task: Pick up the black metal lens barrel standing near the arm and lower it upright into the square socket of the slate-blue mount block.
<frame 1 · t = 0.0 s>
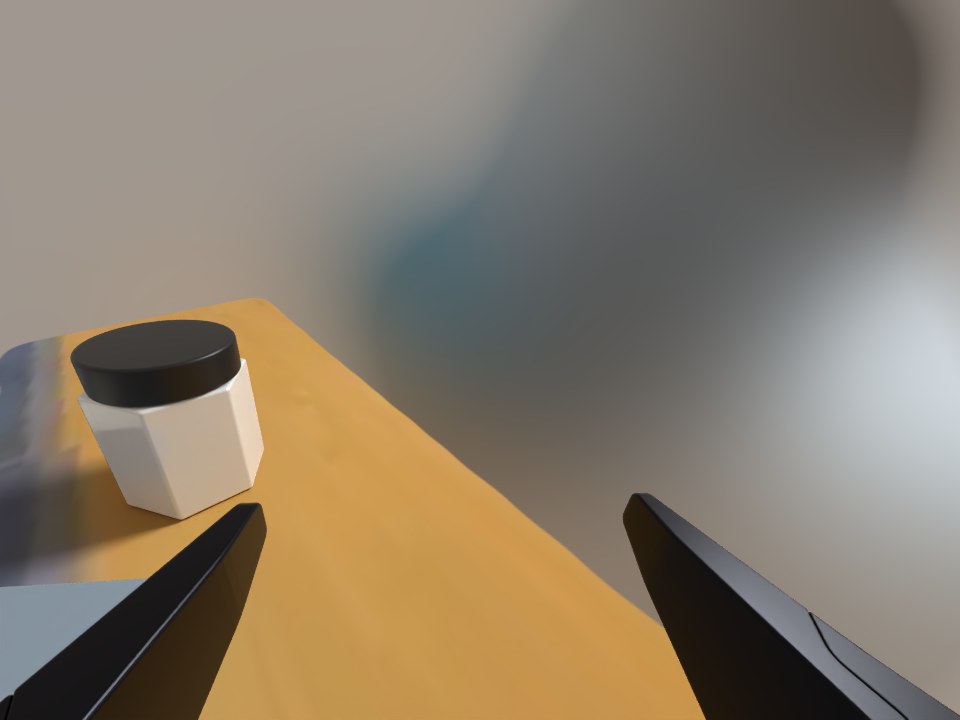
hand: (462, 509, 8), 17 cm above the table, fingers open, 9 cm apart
jar: (204, 476, 28), on the table
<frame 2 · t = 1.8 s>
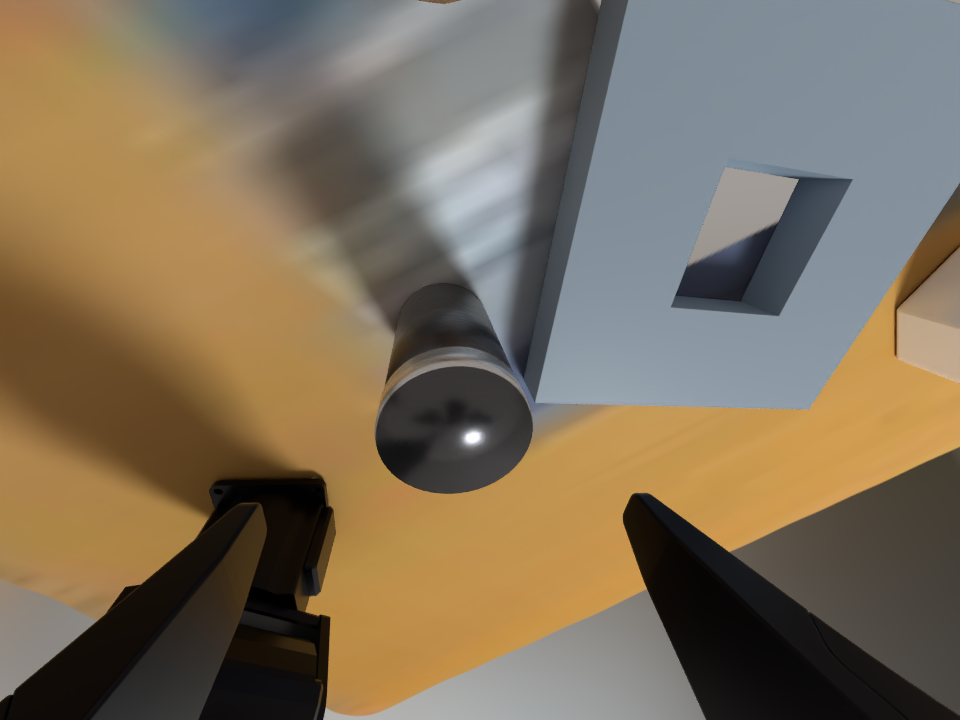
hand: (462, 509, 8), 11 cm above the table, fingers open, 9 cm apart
lens: (443, 327, 18), on the table
jar: (950, 300, 23), on the table
mount block: (717, 238, 18), on the table
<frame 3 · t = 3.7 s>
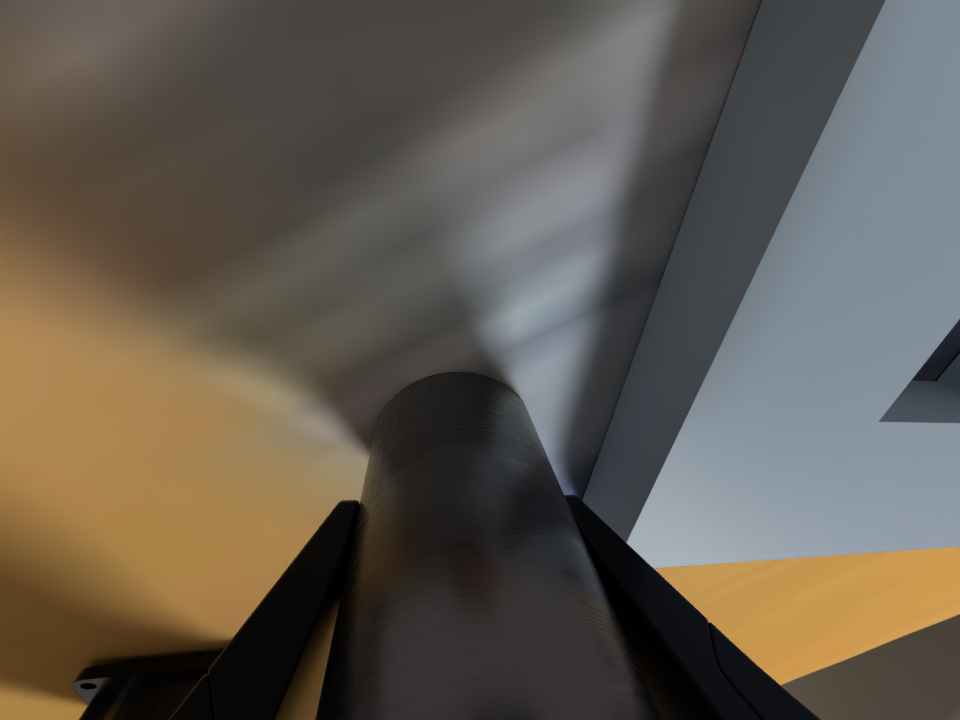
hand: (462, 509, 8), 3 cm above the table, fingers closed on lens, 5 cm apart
lens: (455, 439, 11), on the table, touching gripper
mount block: (932, 287, 10), on the table
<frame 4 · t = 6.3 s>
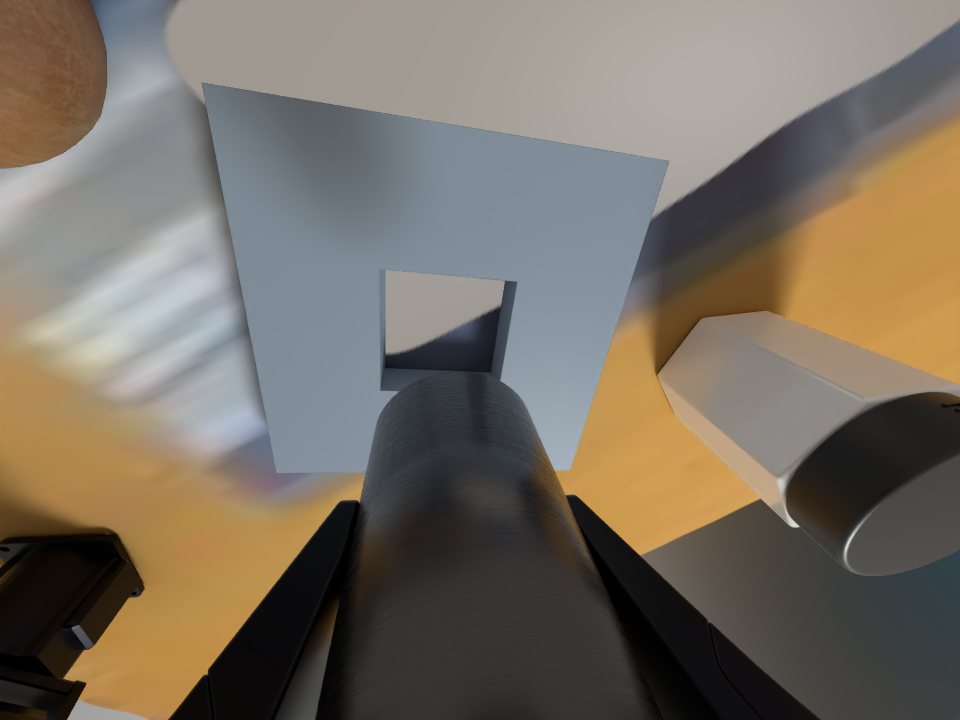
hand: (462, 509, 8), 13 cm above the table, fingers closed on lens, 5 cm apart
onion: (21, 30, 12), on the table
lens: (455, 439, 11), point 10 cm above the table, touching gripper
jar: (714, 364, 24), on the table
mount block: (443, 321, 20), on the table
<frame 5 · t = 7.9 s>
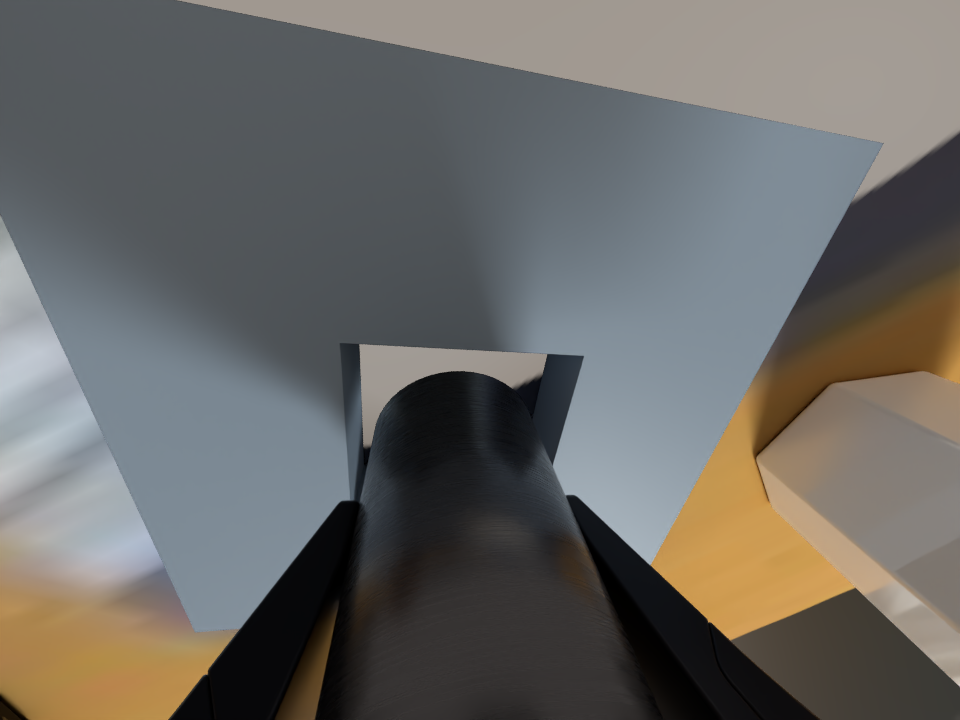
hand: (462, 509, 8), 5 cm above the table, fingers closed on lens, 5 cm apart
lens: (455, 439, 11), point 2 cm above the table, touching gripper
jar: (832, 440, 17), on the table
mount block: (452, 398, 13), on the table
when the fingers open (4 cm above the table, at t = 9.0 s): lens drops 1 cm, resting in mount block.
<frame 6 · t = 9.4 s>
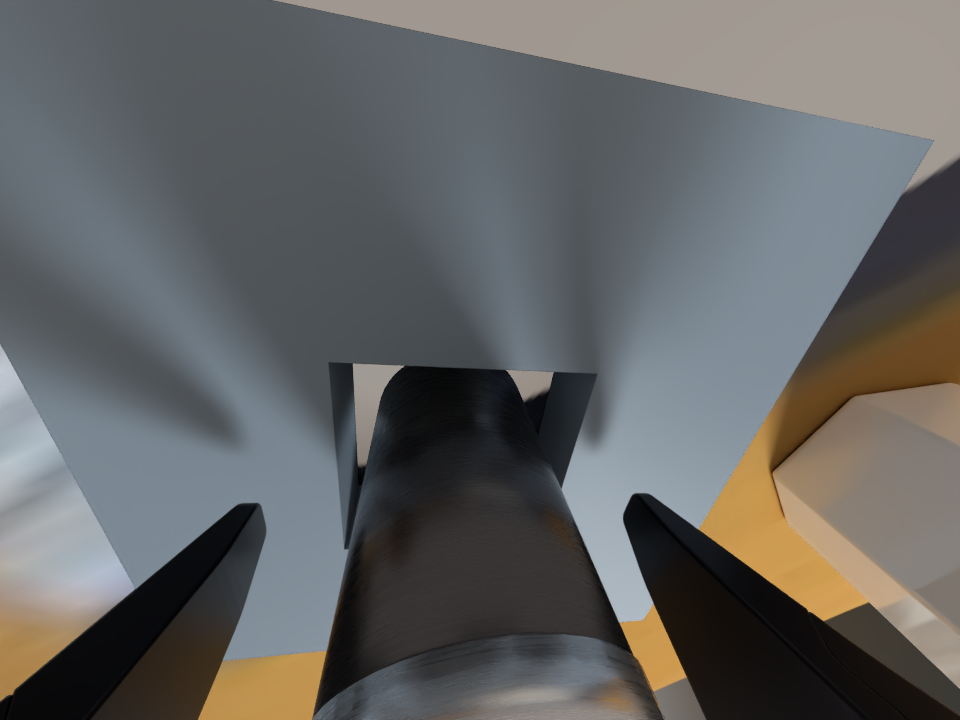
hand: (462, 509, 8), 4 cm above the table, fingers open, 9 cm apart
lens: (451, 413, 12), resting in mount block
jar: (852, 454, 16), on the table
mount block: (453, 415, 12), on the table
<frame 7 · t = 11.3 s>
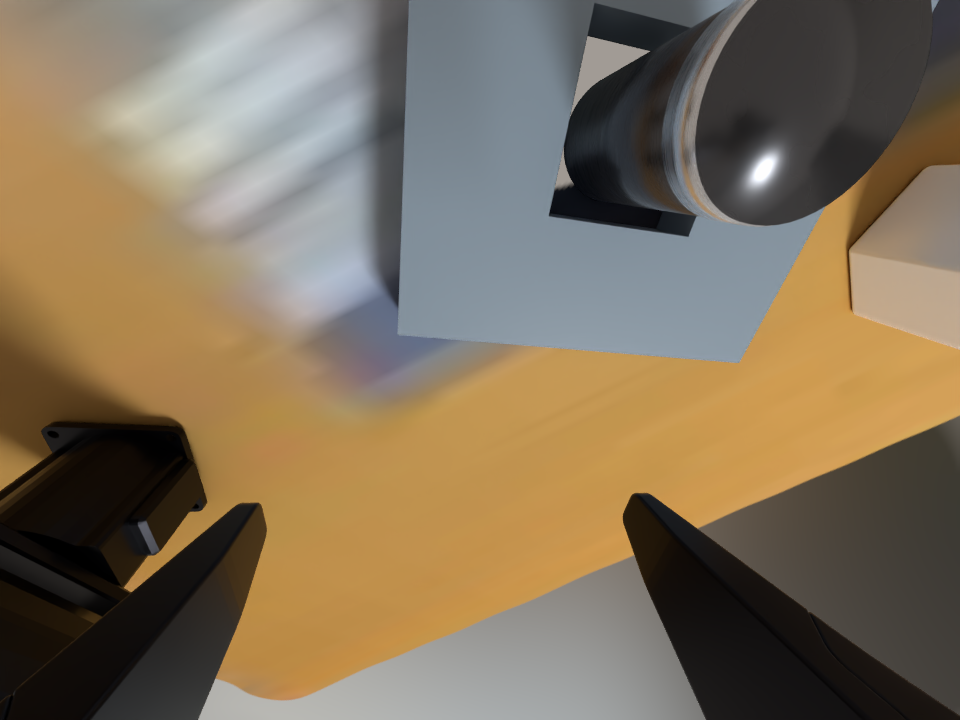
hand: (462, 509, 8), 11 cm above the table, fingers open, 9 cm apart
lens: (616, 141, 15), resting in mount block
jar: (914, 243, 19), on the table
mount block: (618, 143, 15), on the table
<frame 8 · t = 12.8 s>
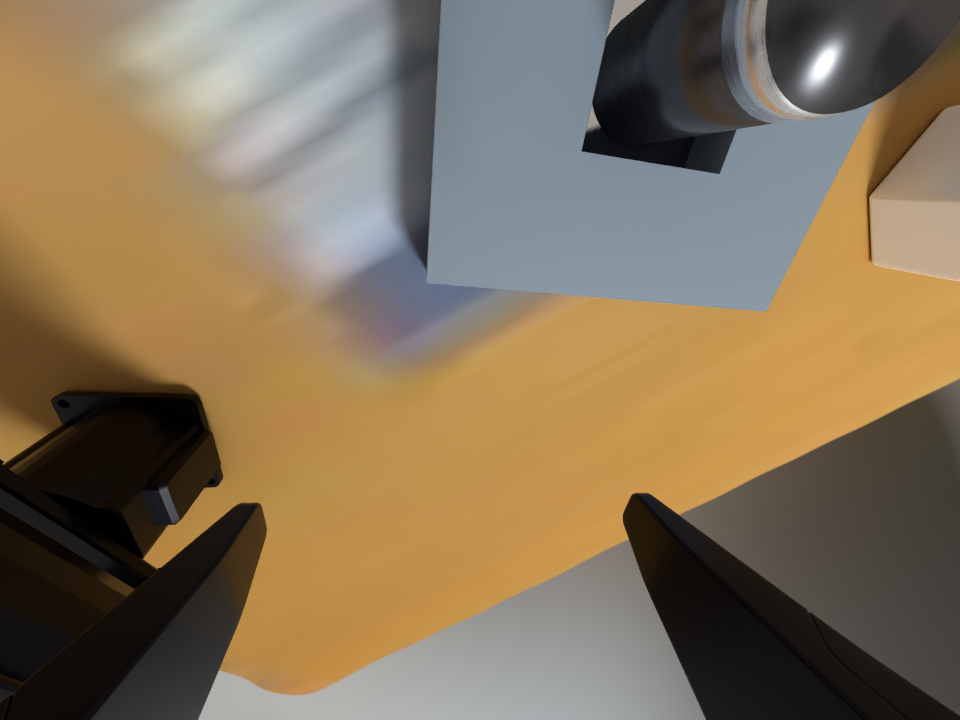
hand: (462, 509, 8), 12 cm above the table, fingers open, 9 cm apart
lens: (644, 80, 15), resting in mount block
jar: (932, 190, 19), on the table
mount block: (645, 82, 15), on the table
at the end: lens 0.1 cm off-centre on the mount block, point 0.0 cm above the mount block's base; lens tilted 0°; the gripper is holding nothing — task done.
